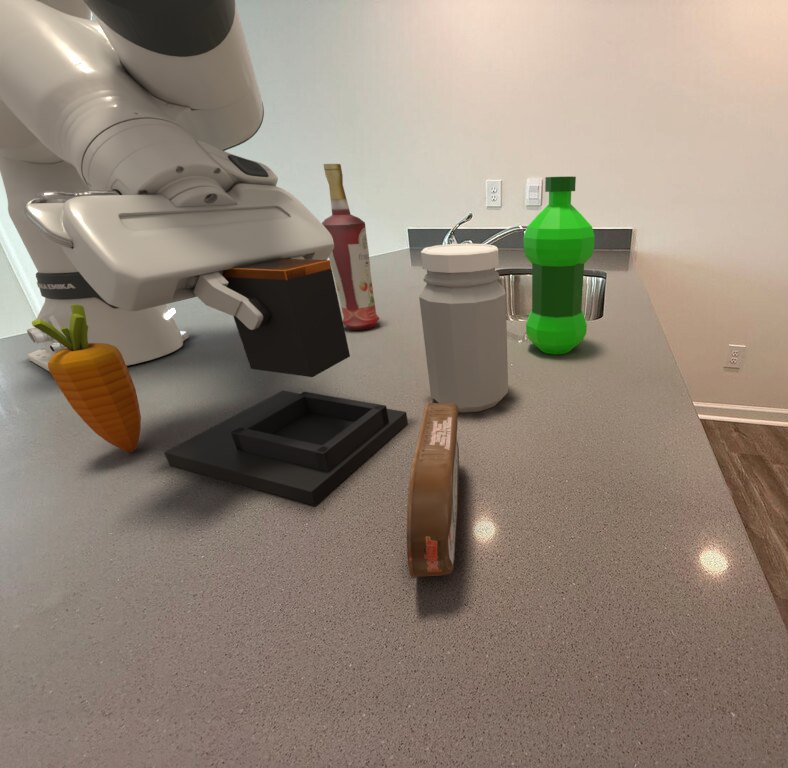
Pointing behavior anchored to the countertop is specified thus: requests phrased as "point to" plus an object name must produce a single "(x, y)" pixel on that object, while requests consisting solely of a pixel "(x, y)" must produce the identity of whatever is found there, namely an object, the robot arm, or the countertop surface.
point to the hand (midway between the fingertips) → (293, 312)
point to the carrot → (95, 382)
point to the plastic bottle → (558, 270)
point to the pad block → (292, 316)
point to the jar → (464, 325)
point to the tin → (434, 493)
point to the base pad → (291, 444)
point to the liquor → (349, 257)
